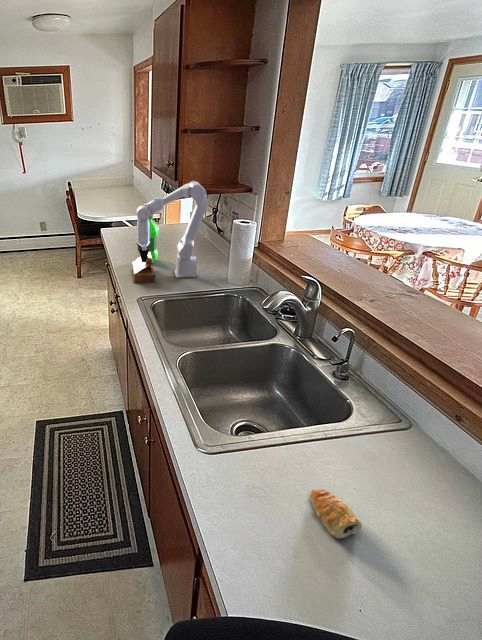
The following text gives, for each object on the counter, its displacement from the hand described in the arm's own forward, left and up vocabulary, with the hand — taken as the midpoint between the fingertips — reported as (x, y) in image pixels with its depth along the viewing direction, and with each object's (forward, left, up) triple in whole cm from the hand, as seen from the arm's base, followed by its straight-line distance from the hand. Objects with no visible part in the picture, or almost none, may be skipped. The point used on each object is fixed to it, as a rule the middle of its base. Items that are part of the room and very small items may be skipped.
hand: (143, 259), depth 187 cm
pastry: (-29, +123, -9) cm, 127 cm away
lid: (0, 0, -2) cm, 2 cm away
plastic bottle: (-5, -20, -9) cm, 22 cm away
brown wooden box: (0, 0, -9) cm, 9 cm away
